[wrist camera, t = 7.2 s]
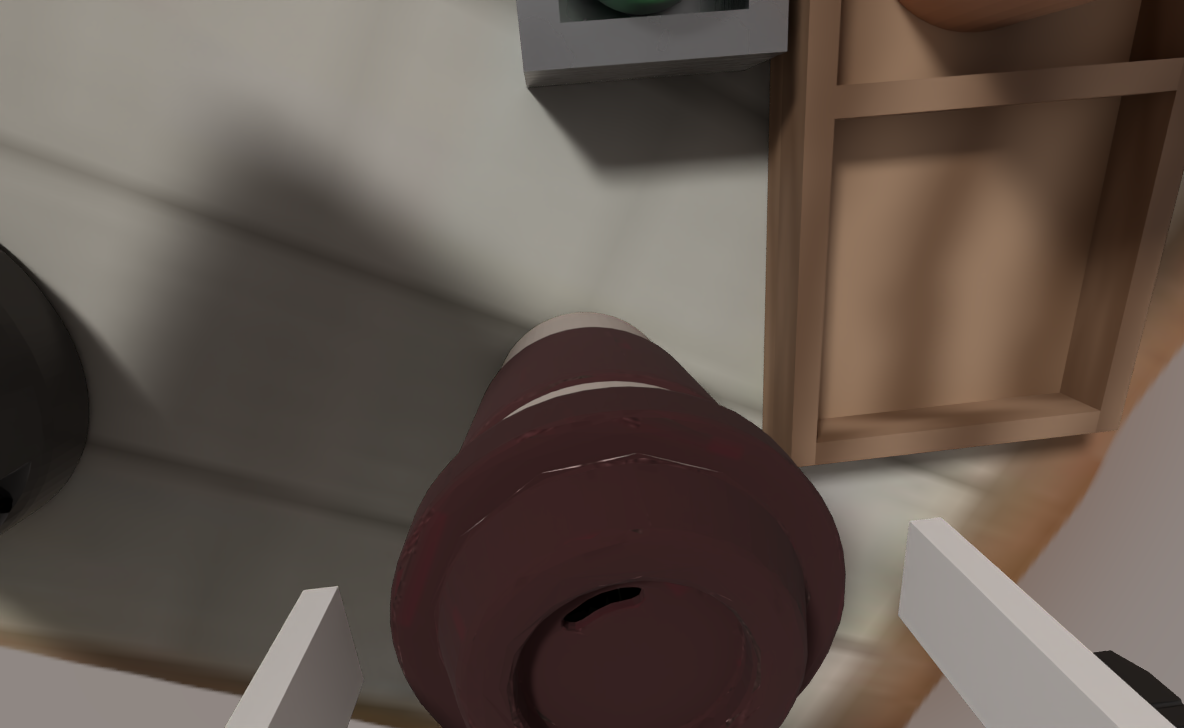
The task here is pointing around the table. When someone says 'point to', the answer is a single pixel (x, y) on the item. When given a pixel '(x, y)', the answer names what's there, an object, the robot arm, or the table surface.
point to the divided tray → (964, 223)
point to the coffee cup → (614, 551)
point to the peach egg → (983, 12)
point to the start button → (639, 5)
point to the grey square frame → (646, 39)
